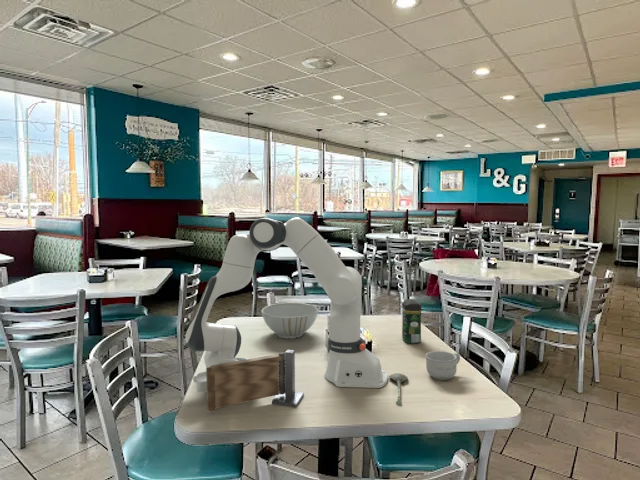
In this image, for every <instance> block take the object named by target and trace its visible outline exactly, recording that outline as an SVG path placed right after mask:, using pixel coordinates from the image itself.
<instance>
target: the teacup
mask: <svg viewBox="0 0 640 480" xmlns="http://www.w3.org/2000/svg"><path fill="white" fill-rule="evenodd" d="M460 360H461V356H460V354H459V353H457V352H453V353H452V352H449V351H445V350H437V351H436V350H435V351H430V352H426V354H425V364H426V365H425V366H426V371H427V374H428V375H430V376H431V378H433V379H434V380H439V381H446V380H451V379H452V377H455V375H456V373H457V366H458V364H459V363H460Z"/></svg>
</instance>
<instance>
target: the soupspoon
mask: <svg viewBox="0 0 640 480" xmlns="http://www.w3.org/2000/svg"><path fill="white" fill-rule="evenodd" d="M388 378H390V379H392V380H394V381H395V382H396V383H397V393H398V394H397V400H396V402H395V404H396V405H402V401H401V383H402V382H405V381H407V380H408V379H409V378H408V376H406V375H405V374H403V373H399V372H398V373H397V372H395V373H392V374H390V375H389V376H388Z"/></svg>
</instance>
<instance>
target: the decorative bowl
mask: <svg viewBox="0 0 640 480" xmlns="http://www.w3.org/2000/svg"><path fill="white" fill-rule="evenodd" d="M260 311H261V316H262V318H263V320H264V322H265V324H266V325H267V327H268V328H269V329H270V330H271V331H272V332H273V333H274V334H276V335H277V337H279V338H282V339H288V338H290V339H296V337H298V338H300V336H301V337H302V336H304V333H305V332H307V331H308V330H309V329H310V328H311V327H313V325H314V323H315V321H316V320H317V317H318V314H319V308H318V307H317V306H316V305H313V304H311V303H310V304H308V303H303V302H279V303H274V304H270V305H267V306H264V307H262V308H261V310H260Z"/></svg>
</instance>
